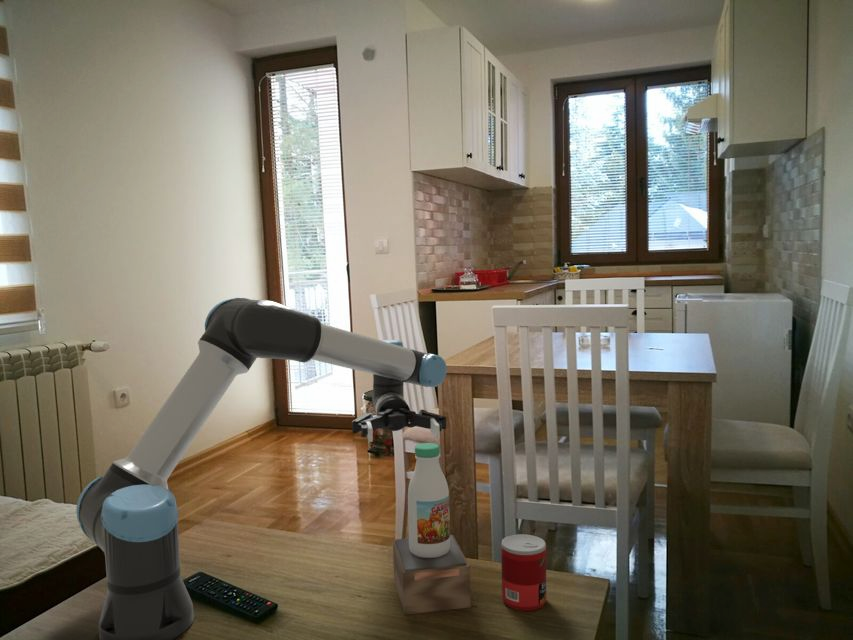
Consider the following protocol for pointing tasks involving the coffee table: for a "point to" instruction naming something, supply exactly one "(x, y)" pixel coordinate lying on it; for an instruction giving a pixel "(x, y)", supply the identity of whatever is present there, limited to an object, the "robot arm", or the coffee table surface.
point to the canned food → (523, 572)
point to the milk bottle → (428, 505)
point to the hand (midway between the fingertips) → (404, 433)
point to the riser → (431, 579)
